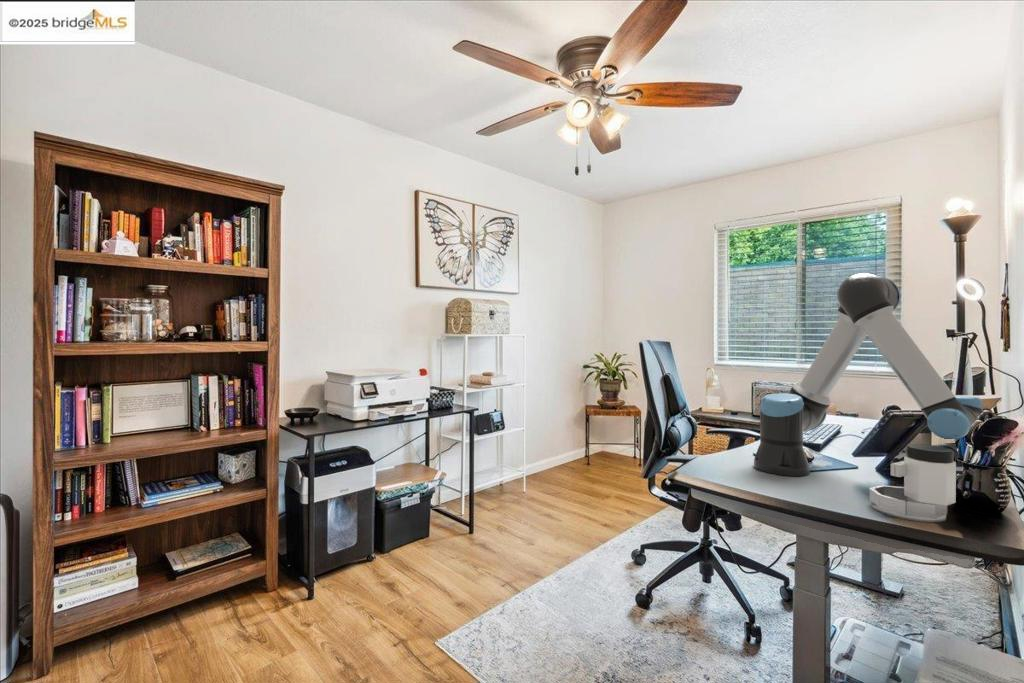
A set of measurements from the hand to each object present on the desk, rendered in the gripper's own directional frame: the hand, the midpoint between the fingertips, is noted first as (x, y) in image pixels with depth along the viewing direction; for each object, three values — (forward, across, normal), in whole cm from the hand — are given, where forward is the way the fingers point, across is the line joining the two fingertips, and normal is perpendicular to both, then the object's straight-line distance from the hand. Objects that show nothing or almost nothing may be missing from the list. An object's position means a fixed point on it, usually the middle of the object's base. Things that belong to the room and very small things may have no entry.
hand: (894, 470), depth 108 cm
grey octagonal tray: (-6, 0, -10) cm, 12 cm away
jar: (-6, -4, -7) cm, 10 cm away
